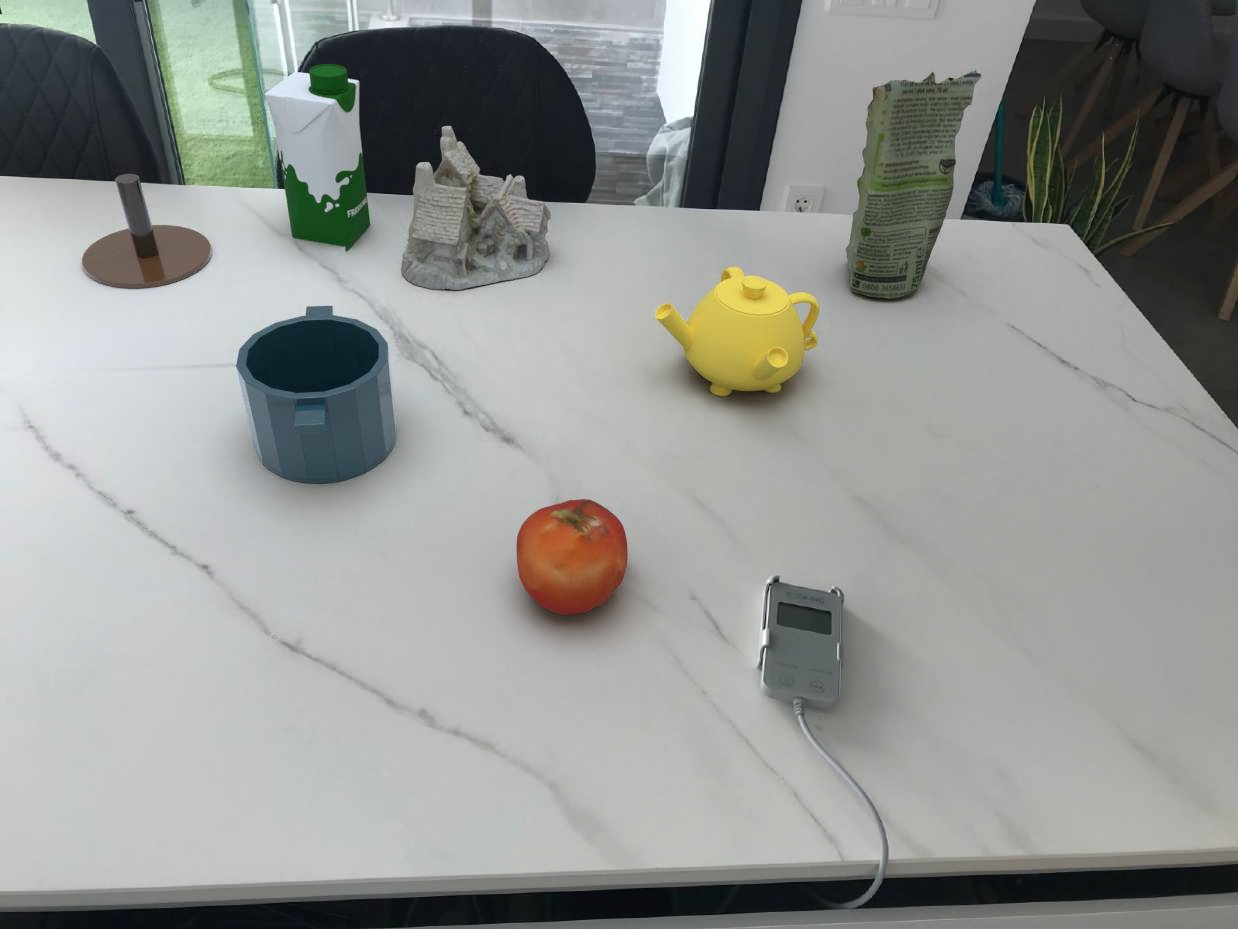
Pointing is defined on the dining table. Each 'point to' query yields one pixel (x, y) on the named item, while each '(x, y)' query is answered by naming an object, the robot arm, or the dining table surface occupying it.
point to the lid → (144, 247)
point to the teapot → (744, 333)
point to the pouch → (905, 181)
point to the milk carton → (321, 154)
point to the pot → (318, 396)
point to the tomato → (571, 556)
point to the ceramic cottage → (471, 225)
